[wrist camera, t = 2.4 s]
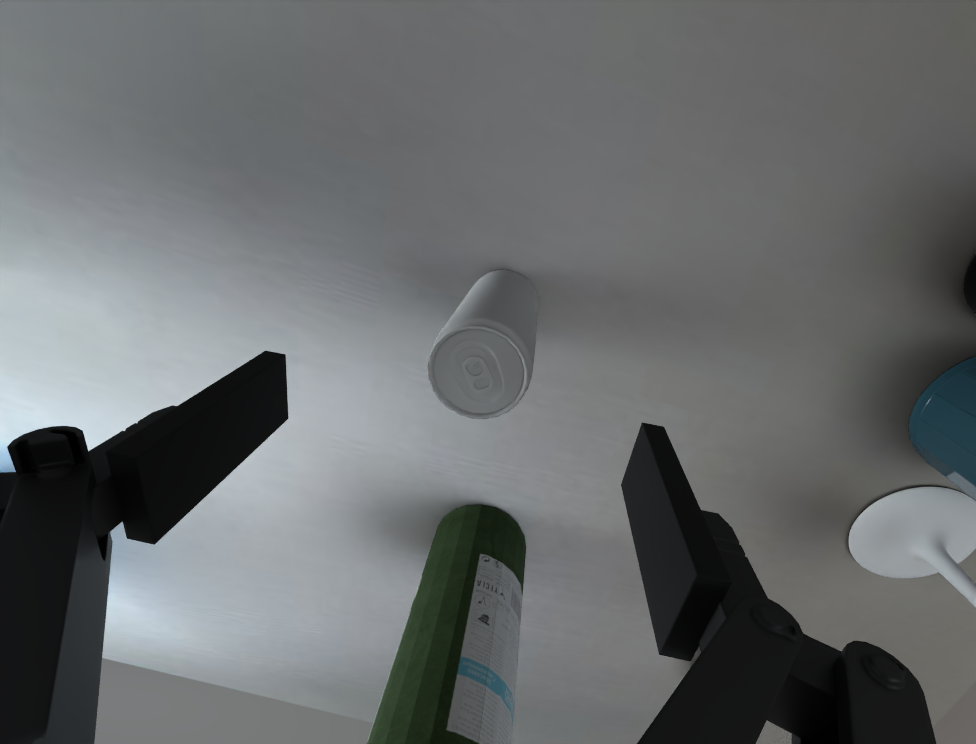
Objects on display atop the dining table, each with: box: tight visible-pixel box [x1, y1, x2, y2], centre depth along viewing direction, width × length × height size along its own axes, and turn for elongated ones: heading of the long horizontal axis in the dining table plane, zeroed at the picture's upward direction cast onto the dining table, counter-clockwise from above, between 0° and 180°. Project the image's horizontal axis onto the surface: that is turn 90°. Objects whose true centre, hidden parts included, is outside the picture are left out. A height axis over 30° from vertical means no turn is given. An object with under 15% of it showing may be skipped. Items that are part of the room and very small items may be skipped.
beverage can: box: [428, 270, 539, 419], centre depth 26 cm, size 5×5×12 cm
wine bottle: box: [367, 505, 526, 744], centre depth 26 cm, size 8×8×30 cm
